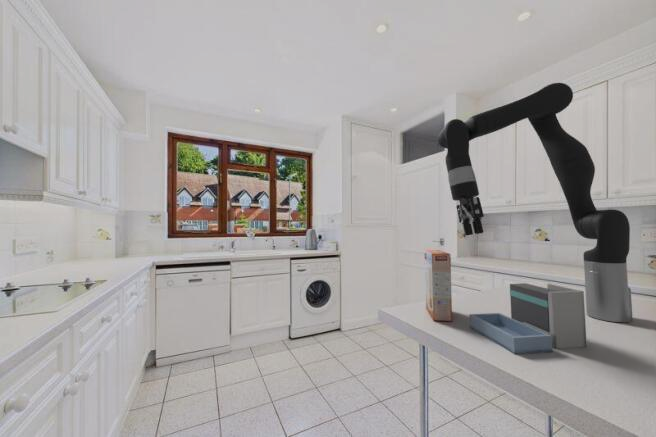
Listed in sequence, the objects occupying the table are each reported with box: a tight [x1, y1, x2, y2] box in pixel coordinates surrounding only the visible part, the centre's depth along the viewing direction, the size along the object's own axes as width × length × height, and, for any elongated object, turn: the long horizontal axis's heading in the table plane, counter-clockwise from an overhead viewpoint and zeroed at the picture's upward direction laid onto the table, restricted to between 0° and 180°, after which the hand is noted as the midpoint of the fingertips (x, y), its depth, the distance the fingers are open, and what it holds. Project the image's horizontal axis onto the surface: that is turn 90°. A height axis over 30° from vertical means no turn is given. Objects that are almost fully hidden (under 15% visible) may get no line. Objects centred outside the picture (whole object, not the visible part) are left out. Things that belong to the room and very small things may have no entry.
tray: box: [468, 312, 553, 355], centre depth 69 cm, size 9×17×4 cm, turn 5°
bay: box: [523, 283, 587, 350], centre depth 67 cm, size 8×9×13 cm
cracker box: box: [424, 249, 453, 322], centre depth 88 cm, size 14×6×21 cm, turn 168°
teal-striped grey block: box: [509, 282, 556, 333], centre depth 72 cm, size 5×12×12 cm, turn 4°
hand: (473, 234), depth 81 cm, fingers open, 8 cm apart
